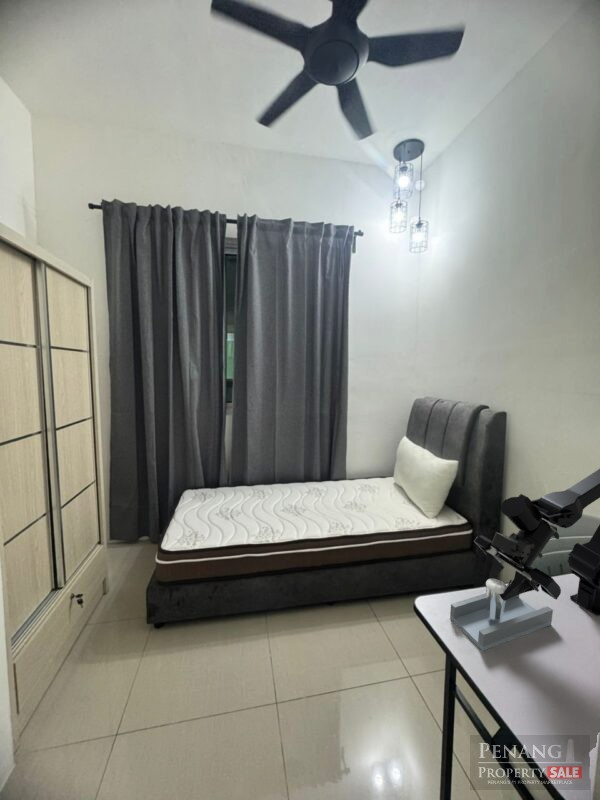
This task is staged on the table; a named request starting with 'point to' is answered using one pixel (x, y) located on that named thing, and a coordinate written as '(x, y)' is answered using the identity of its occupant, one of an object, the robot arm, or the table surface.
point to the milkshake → (495, 598)
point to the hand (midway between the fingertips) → (493, 592)
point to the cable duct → (492, 633)
